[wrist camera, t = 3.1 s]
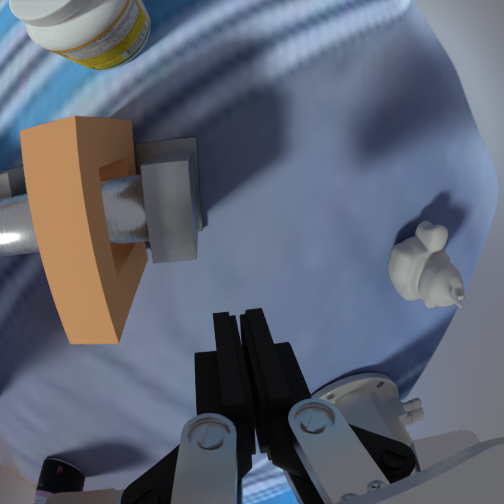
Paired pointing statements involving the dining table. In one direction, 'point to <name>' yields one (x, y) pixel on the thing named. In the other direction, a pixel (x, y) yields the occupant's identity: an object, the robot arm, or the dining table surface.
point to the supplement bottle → (87, 29)
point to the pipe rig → (126, 204)
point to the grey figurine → (426, 268)
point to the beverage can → (58, 479)
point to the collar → (82, 222)
